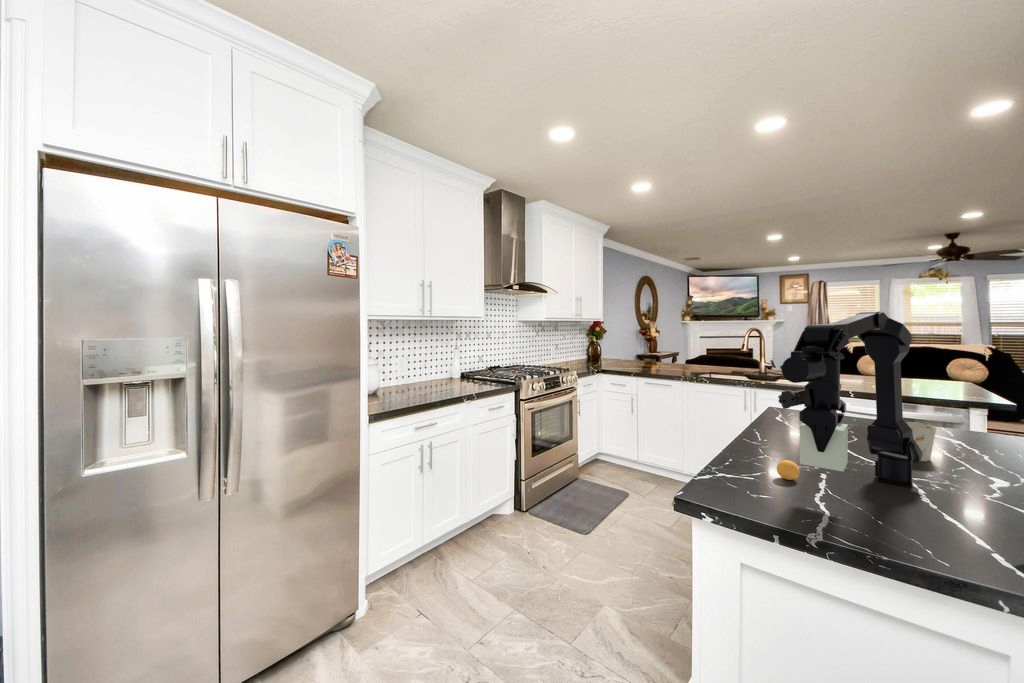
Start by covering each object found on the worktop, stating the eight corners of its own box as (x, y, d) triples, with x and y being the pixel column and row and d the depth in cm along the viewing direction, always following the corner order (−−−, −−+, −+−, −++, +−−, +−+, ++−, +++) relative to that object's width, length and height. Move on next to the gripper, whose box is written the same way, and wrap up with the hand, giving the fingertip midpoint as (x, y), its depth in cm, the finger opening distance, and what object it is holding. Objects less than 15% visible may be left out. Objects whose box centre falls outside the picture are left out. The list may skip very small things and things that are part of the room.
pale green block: (847, 462, 91) (847, 424, 91) (843, 471, 86) (843, 431, 85) (806, 455, 97) (806, 419, 96) (799, 463, 91) (799, 425, 91)
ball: (801, 478, 106) (801, 460, 105) (797, 484, 102) (797, 465, 102) (779, 474, 109) (779, 456, 109) (774, 479, 106) (774, 460, 105)
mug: (944, 463, 114) (944, 428, 114) (892, 461, 117) (892, 427, 116) (920, 454, 122) (920, 422, 122) (873, 452, 125) (873, 421, 125)
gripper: (790, 373, 103) (790, 433, 103) (772, 381, 90) (772, 450, 90) (846, 376, 95) (846, 441, 95) (835, 385, 82) (835, 460, 82)
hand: (823, 447), depth 91 cm, fingers closed on pale green block, 8 cm apart
